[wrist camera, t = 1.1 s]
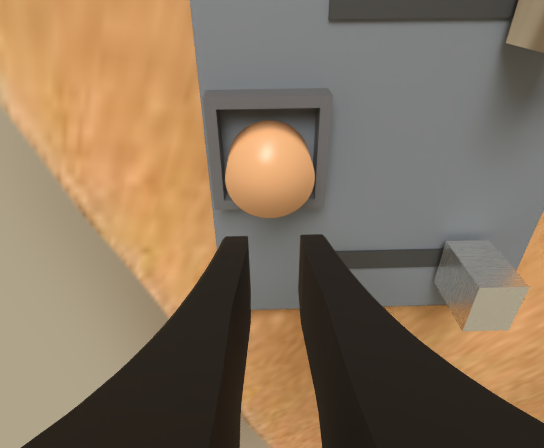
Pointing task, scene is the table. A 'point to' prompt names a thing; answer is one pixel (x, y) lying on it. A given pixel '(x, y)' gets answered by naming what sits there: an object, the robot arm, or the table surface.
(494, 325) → the metal slider
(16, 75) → the table surface
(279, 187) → the orange button
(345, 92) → the control board
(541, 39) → the birch slider
